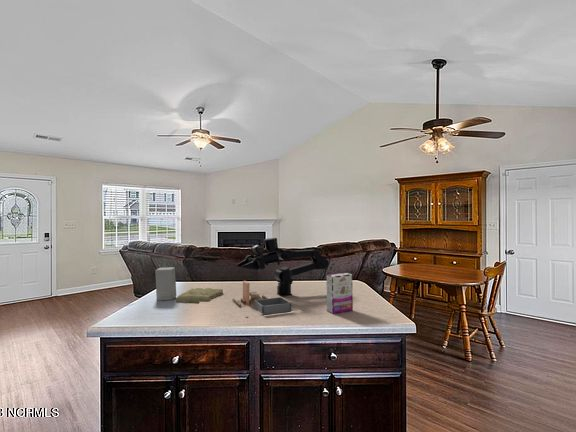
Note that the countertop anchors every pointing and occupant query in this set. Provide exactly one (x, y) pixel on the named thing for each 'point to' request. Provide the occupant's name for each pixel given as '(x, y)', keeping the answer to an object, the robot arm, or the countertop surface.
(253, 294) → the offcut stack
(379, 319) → the countertop surface
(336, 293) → the candy bar box
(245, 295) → the slat
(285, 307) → the tray
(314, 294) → the countertop surface
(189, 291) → the decorative tile
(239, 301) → the rack
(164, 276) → the skincare box
